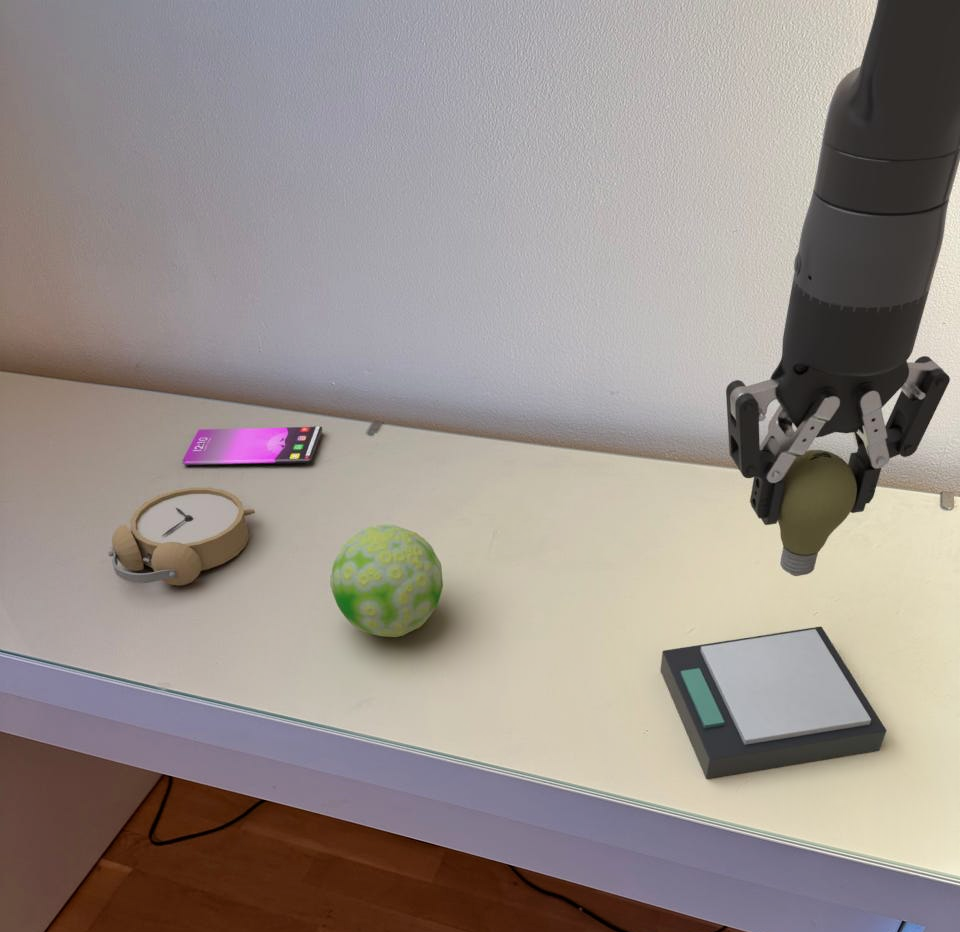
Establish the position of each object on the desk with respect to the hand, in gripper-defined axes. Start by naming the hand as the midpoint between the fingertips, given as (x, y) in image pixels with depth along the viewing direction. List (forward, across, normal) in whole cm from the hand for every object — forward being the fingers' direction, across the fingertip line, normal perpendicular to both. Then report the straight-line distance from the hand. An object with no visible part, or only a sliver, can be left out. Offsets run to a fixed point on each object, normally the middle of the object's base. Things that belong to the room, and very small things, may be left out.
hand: (809, 511), depth 67 cm
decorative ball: (+19, -30, +15) cm, 39 cm away
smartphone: (+19, -43, +48) cm, 67 cm away
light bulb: (+6, 0, 0) cm, 6 cm away
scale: (+19, -1, -2) cm, 19 cm away
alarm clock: (+19, -50, +30) cm, 61 cm away
